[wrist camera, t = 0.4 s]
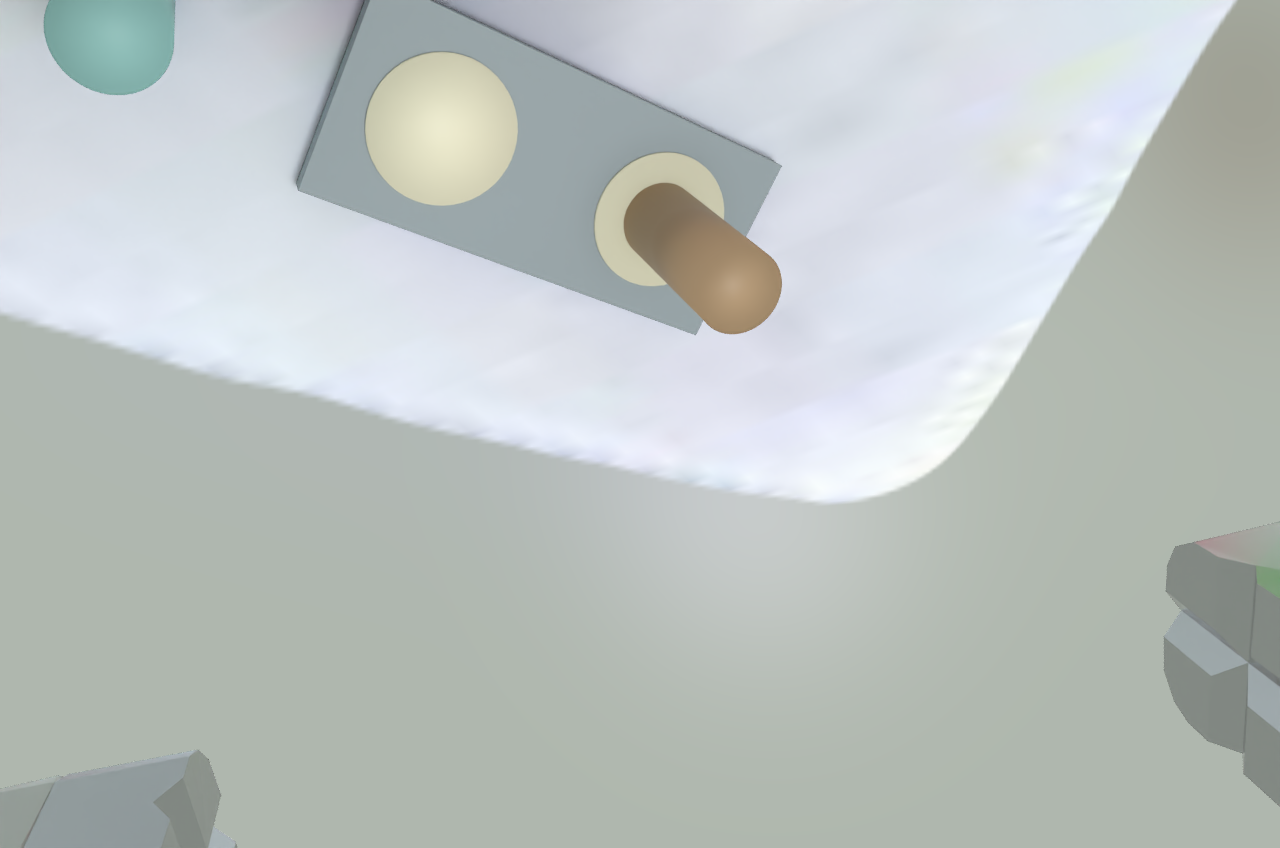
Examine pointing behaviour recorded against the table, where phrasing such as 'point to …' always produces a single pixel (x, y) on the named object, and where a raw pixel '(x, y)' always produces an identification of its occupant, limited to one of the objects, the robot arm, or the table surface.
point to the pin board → (542, 169)
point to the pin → (111, 42)
